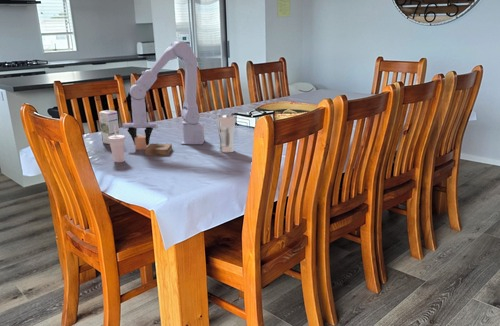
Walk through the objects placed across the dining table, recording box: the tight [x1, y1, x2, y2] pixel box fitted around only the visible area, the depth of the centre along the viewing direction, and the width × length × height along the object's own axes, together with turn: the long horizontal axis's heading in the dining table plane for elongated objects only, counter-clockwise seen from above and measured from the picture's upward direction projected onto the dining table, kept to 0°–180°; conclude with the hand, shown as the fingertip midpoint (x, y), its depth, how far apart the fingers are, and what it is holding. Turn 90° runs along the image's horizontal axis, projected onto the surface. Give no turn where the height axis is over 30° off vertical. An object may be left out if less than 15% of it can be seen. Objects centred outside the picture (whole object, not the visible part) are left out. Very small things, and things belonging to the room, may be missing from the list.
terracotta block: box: [134, 134, 150, 150], centre depth 185 cm, size 4×4×5 cm
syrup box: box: [98, 109, 120, 146], centre depth 191 cm, size 6×6×14 cm
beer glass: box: [217, 113, 236, 154], centre depth 178 cm, size 7×7×15 cm
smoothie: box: [108, 125, 126, 163], centre depth 165 cm, size 6×6×14 cm
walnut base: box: [144, 143, 173, 156], centre depth 178 cm, size 9×9×2 cm
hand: (141, 144), depth 185 cm, fingers closed on terracotta block, 4 cm apart
